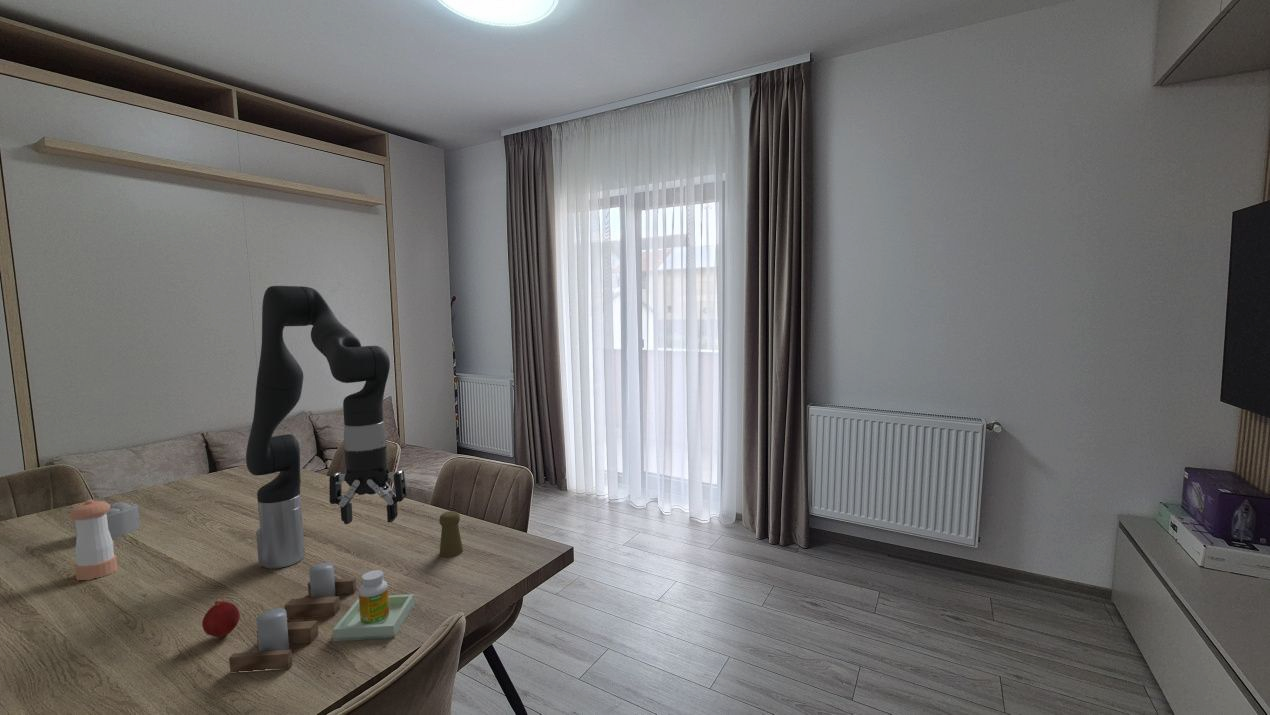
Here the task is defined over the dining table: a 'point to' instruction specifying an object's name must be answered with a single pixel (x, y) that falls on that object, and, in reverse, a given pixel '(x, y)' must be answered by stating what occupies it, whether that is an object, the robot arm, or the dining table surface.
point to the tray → (389, 628)
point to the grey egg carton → (122, 518)
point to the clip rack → (294, 629)
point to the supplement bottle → (373, 598)
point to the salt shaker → (93, 541)
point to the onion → (221, 619)
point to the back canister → (322, 580)
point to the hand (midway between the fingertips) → (370, 521)
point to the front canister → (273, 630)
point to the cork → (450, 535)
